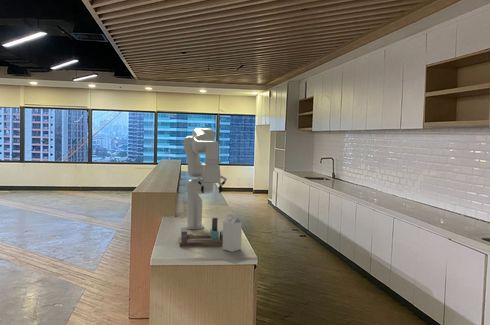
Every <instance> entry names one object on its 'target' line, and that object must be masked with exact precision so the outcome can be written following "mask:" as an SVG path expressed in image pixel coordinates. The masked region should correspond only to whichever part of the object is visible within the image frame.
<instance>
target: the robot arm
mask: <svg viewBox="0 0 490 325" xmlns="http://www.w3.org/2000/svg"><path fill="white" fill-rule="evenodd" d="M215 138H216V134H215V130H214V129H212V128H209V127H208V128H207V127H196V128H194V129H193V130H192V131H191V135H188V136H185V137H184V139H183V149H184V153H185V155H186V159H187V160H186V161H187V162H186V163H187V174H188V176H189V177H190V178H195V179H189V180H188V181H187V183H186V193H187V222H186V223H187V224H185V225H184V228H187V230H201V229H204V228H205V225H204V224H203V200H202V198H201V197H200V195H208V194H212V193H213V191H214V184H218V185H219V186H218V193H219V194H221V193H222V192H223V186H224V185H225V184H226V182H227V180H228V179H227V178H226V177H225V176H223V175H221V174H222V173H221V168H220V165H219V164H222V161H221V160H219V155H220V154H219V153H220V152H219V151H220V150H219V146H220V145H219V142H218V141H216V140H215ZM201 155H204V163H203V162H201ZM221 179H222V182H221Z"/></svg>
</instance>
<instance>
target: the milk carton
mask: <svg viewBox="0 0 490 325" xmlns="http://www.w3.org/2000/svg"><path fill="white" fill-rule="evenodd" d="M242 227H243V226H242V221H241V220H240V218H239V216H238V215H237V214H232V213H227V216H226V217H225V218H224V220H223V221H222V231H223V246H222V250H224V251H228V252H231V253H233V252H236V251H239V250H242Z"/></svg>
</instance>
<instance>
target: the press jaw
mask: <svg viewBox="0 0 490 325" xmlns="http://www.w3.org/2000/svg"><path fill="white" fill-rule="evenodd" d="M211 222H212V223H211V229H210V233H209V235H210V238H211V239H219V237H220V230H218V223H219V222H218V217H212V218H211Z"/></svg>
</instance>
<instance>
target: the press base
mask: <svg viewBox="0 0 490 325" xmlns="http://www.w3.org/2000/svg"><path fill="white" fill-rule="evenodd" d="M180 228H181V229H180V237H179V238H178V240H179V242H178V243H179V247H223V230H219V239H211V238H210V234H193V233H188V229H187V228H185V227H180Z"/></svg>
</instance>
